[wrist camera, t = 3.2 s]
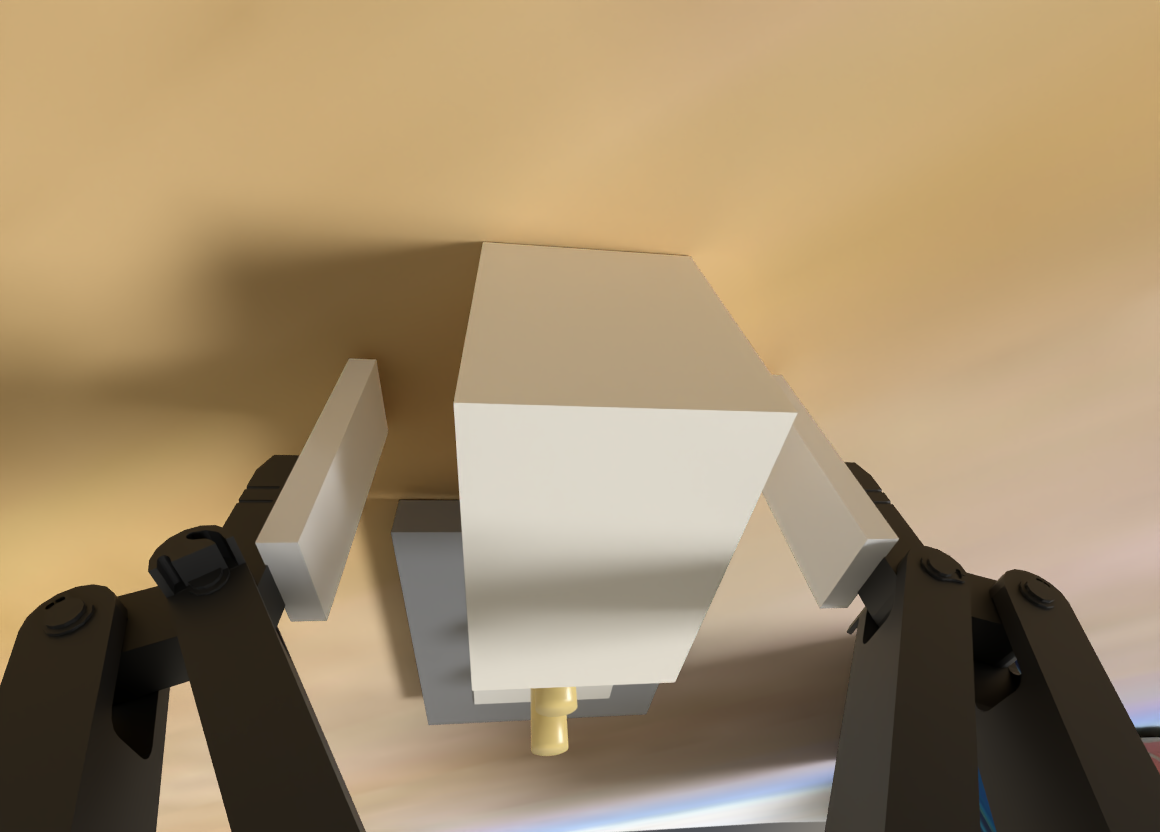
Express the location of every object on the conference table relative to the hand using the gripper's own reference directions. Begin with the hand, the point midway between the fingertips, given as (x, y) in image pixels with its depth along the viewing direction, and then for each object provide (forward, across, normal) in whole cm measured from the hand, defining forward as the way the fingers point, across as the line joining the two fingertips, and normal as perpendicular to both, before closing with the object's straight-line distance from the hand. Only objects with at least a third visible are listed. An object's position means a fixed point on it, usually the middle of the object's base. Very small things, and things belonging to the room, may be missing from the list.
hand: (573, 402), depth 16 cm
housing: (0, 0, 0) cm, 0 cm away
